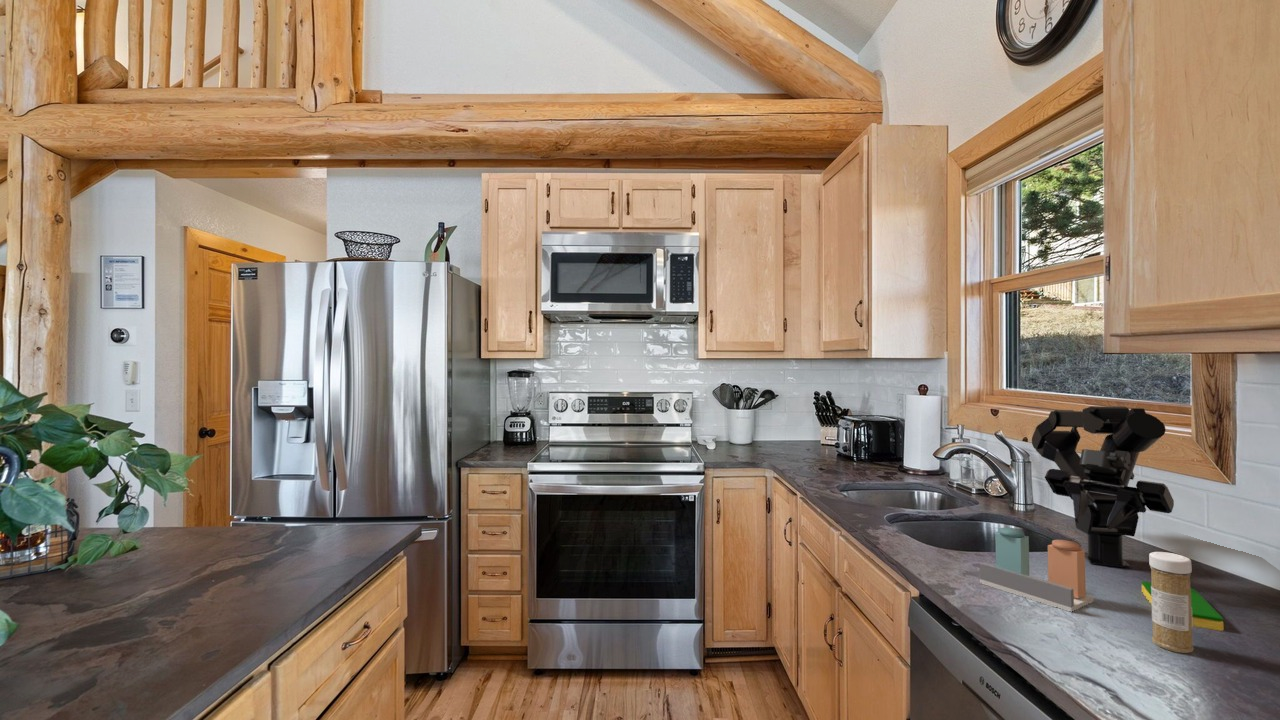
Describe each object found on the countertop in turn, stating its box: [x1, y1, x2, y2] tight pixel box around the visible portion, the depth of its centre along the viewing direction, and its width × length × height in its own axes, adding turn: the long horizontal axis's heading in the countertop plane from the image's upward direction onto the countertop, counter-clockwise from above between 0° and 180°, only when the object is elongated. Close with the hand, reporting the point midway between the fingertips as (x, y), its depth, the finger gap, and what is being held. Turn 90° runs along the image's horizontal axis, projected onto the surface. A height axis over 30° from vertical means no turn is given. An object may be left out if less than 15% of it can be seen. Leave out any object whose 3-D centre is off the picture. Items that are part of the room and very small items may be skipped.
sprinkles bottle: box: [1148, 551, 1195, 654], centre depth 82 cm, size 5×5×14 cm
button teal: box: [994, 527, 1030, 576], centre depth 107 cm, size 4×4×9 cm
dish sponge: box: [1141, 580, 1224, 632], centre depth 94 cm, size 7×14×2 cm, turn 149°
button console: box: [978, 562, 1094, 613], centre depth 102 cm, size 8×15×4 cm, turn 30°
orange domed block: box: [1047, 539, 1087, 598], centre depth 99 cm, size 4×4×9 cm
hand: (1092, 524), depth 105 cm, fingers open, 5 cm apart
